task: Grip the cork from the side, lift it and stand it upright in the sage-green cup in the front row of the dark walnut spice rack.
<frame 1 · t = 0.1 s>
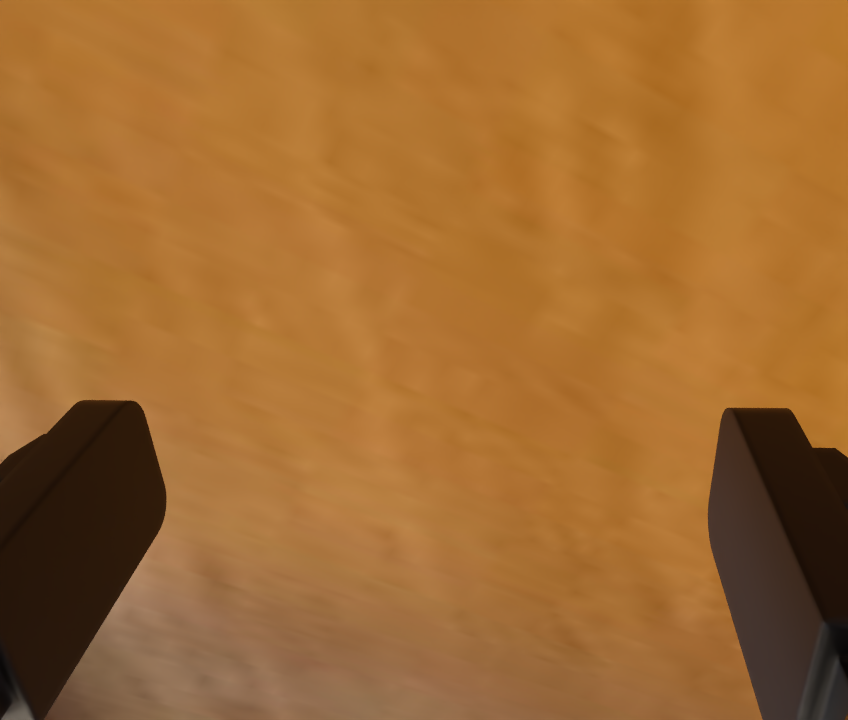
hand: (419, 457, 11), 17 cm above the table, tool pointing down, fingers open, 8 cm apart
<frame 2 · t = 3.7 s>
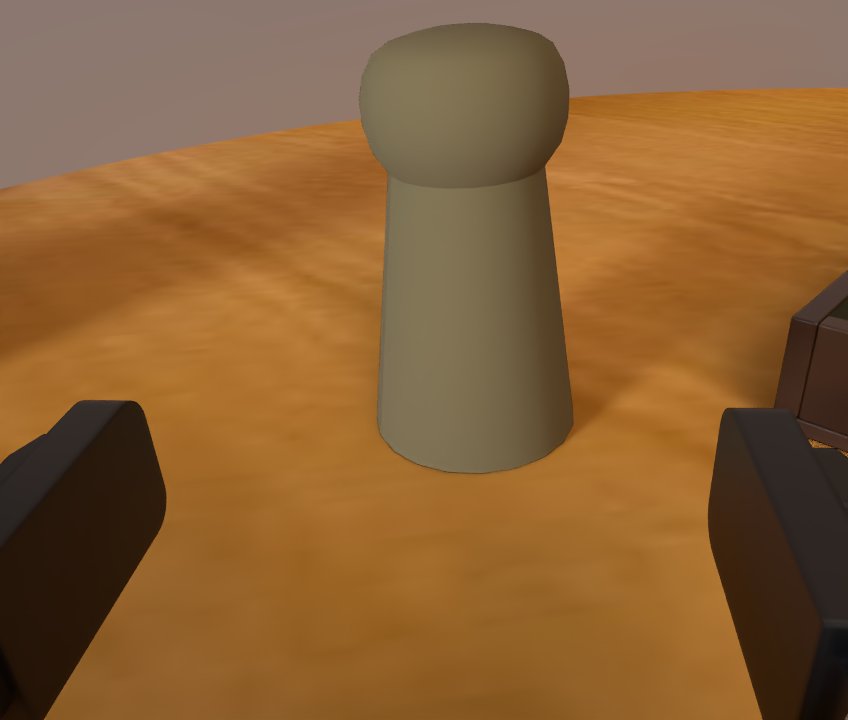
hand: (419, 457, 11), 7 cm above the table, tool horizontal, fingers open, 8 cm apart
cork: (474, 417, 24), on the table
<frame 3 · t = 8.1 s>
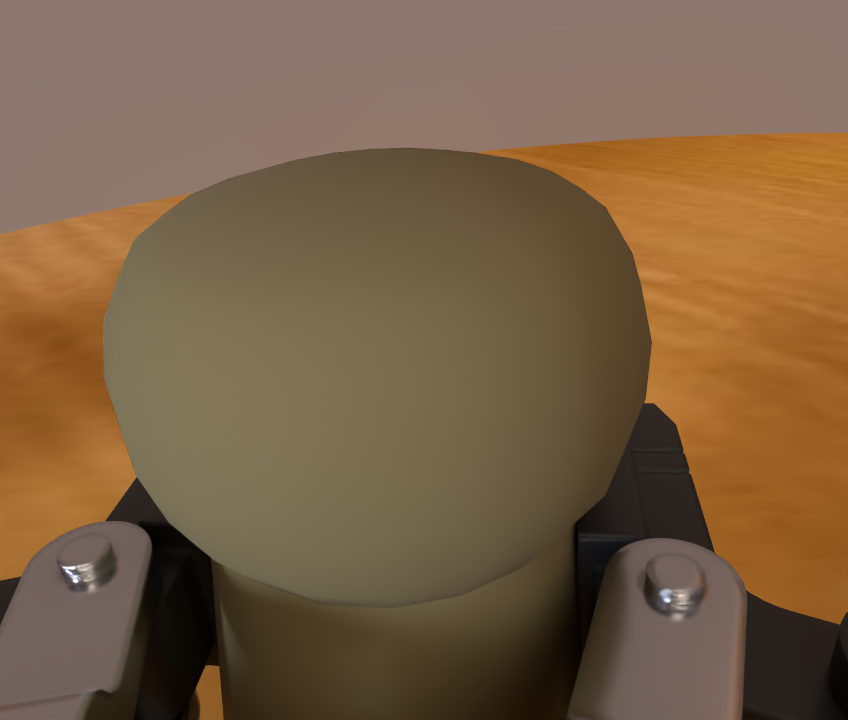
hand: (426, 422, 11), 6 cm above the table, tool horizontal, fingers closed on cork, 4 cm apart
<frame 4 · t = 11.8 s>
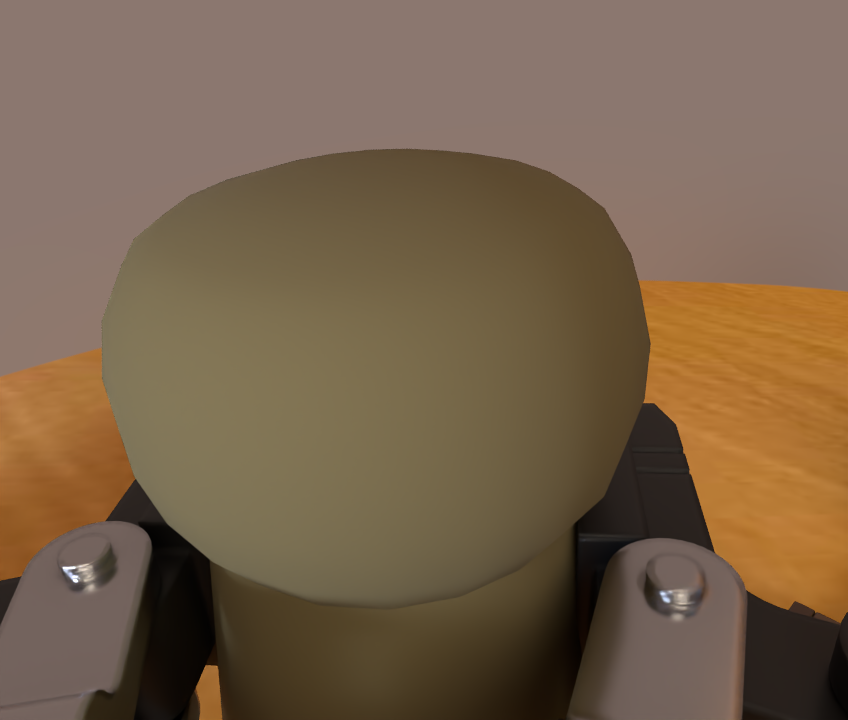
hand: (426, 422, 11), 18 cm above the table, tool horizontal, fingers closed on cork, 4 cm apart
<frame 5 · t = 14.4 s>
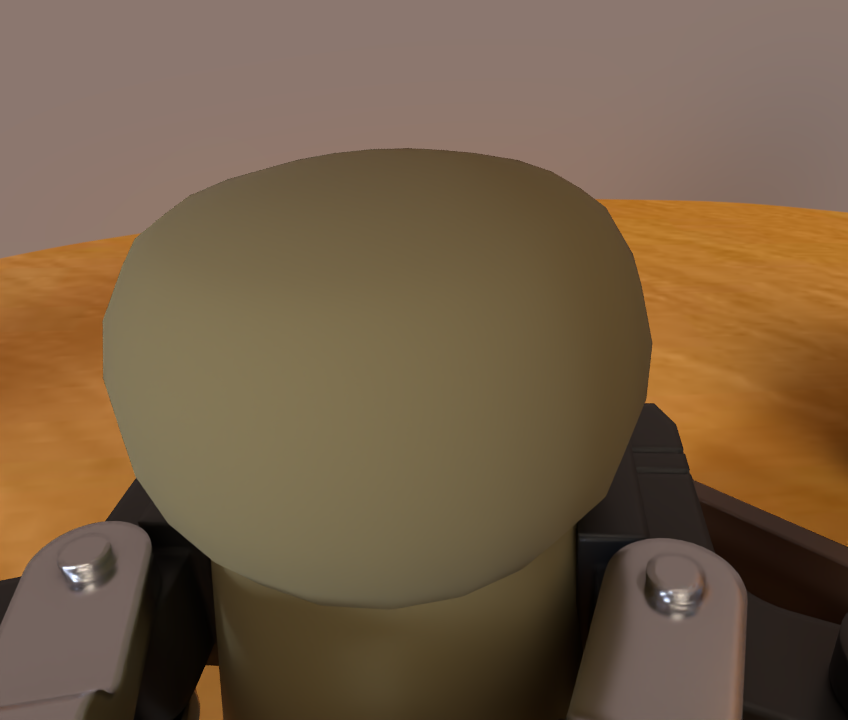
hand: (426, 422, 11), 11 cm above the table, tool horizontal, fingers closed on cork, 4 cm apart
when the fingers open (7 cm above the table, at t = 15.9 s): cork stays where it is, resting on spice rack.
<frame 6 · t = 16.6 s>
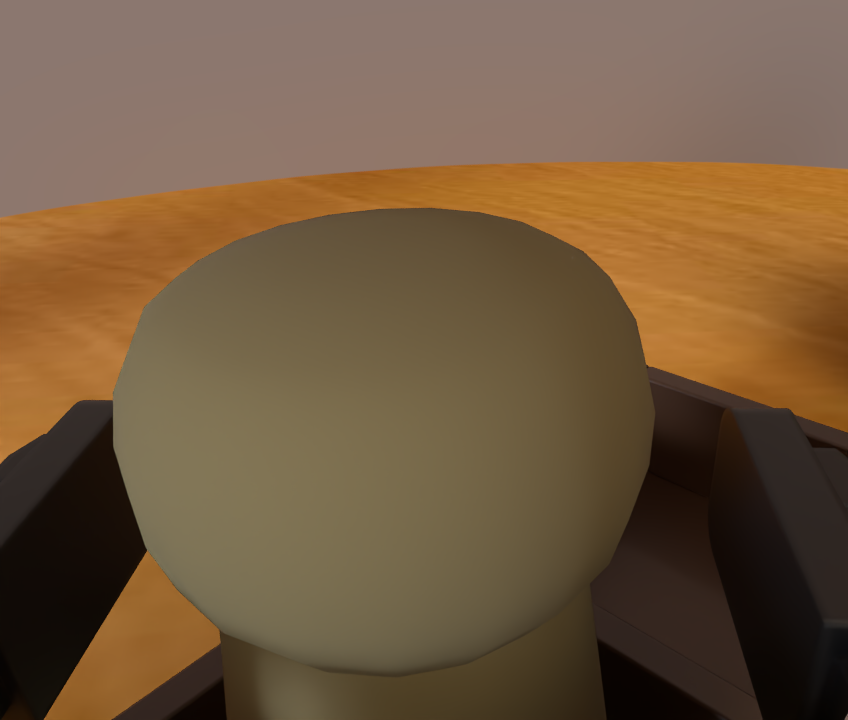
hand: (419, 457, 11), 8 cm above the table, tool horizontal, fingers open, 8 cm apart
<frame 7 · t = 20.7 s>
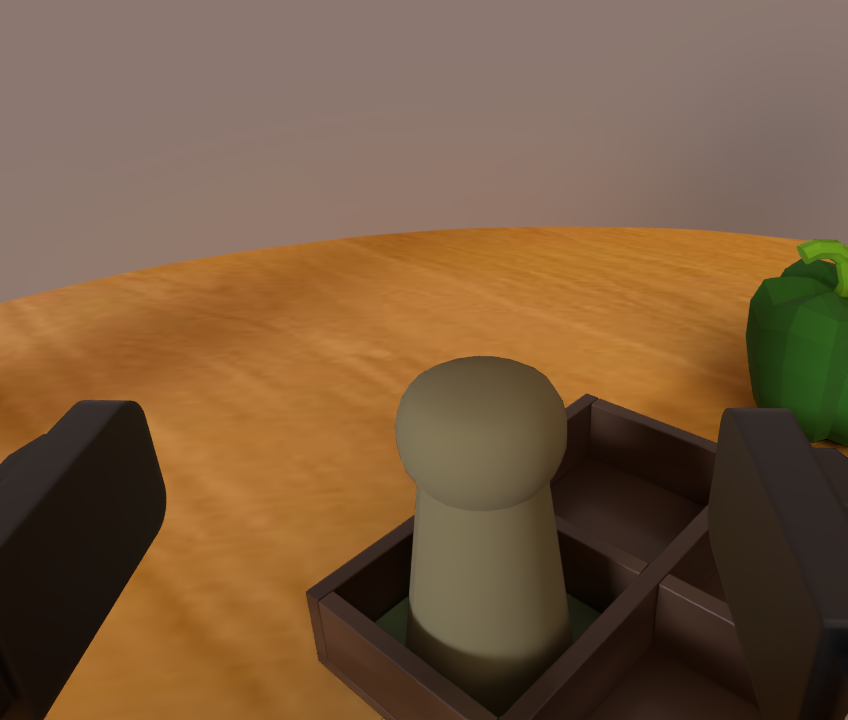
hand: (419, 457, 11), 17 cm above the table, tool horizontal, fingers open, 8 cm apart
cork: (488, 646, 28), point 1 cm above the table, touching spice rack
spice rack: (646, 644, 28), on the table
bell pepper: (819, 424, 40), on the table
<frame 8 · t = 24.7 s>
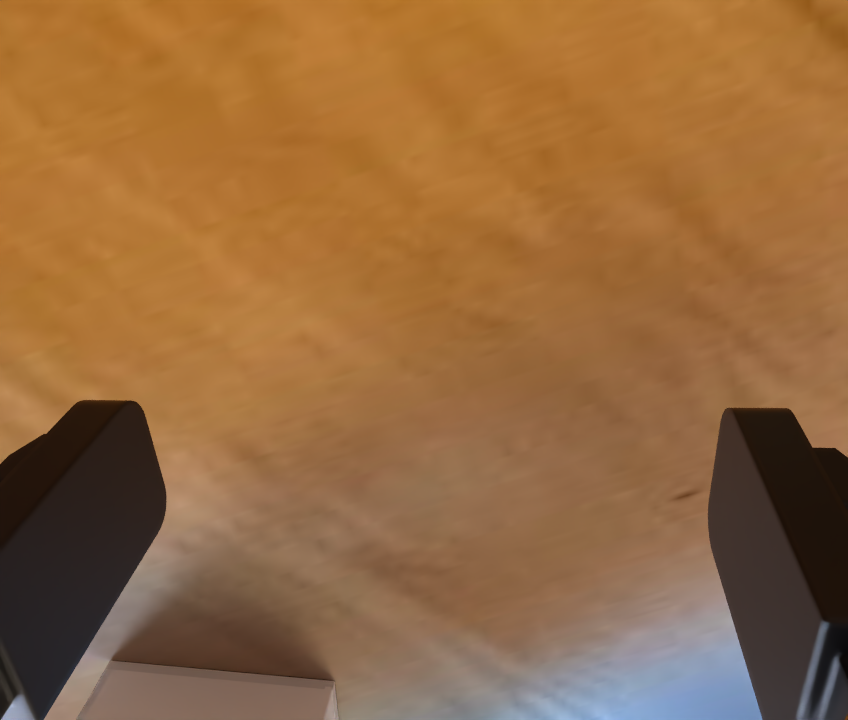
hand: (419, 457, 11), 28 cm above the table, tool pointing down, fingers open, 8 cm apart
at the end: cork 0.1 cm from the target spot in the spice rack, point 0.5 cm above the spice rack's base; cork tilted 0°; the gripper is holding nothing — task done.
